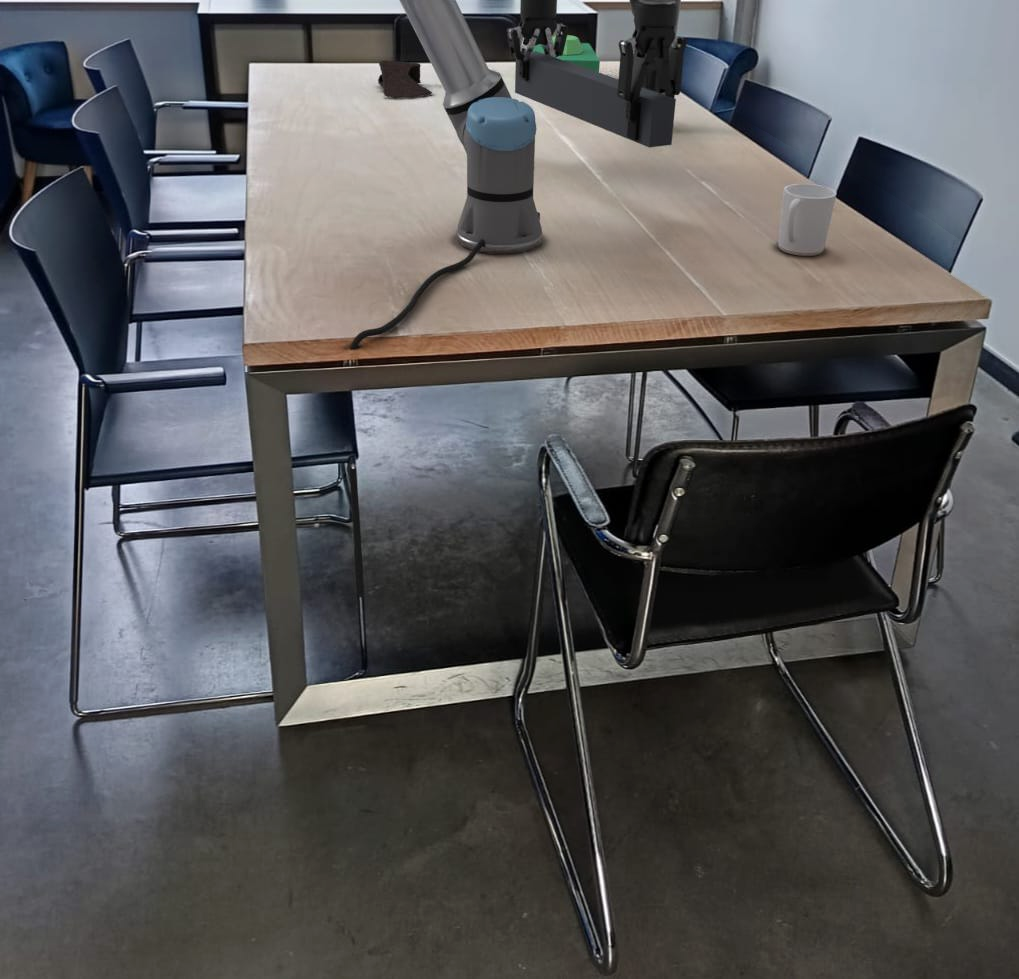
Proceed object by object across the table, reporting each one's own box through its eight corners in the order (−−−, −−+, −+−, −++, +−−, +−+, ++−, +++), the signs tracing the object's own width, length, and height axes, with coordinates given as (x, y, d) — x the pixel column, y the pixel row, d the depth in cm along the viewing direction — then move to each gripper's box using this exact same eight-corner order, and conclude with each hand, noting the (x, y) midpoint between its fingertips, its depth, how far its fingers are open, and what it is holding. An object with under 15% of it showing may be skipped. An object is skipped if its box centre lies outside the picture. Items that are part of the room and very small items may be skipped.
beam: (671, 144, 201) (676, 98, 197) (649, 147, 199) (653, 101, 195) (534, 90, 239) (536, 51, 234) (514, 92, 237) (515, 52, 232)
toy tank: (587, 25, 326) (600, 46, 296) (584, 68, 332) (597, 93, 303) (528, 24, 325) (535, 44, 295) (526, 67, 331) (534, 92, 302)
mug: (789, 236, 200) (798, 180, 195) (834, 247, 195) (845, 190, 190) (760, 251, 193) (769, 193, 188) (807, 263, 188) (817, 204, 183)
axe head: (443, 87, 294) (392, 77, 287) (436, 115, 299) (385, 106, 292) (421, 62, 307) (371, 52, 300) (414, 89, 311) (365, 80, 304)
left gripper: (685, -4, 198) (672, 127, 210) (601, 0, 190) (593, 137, 202) (711, 1, 192) (696, 136, 204) (626, 6, 185) (616, 146, 197)
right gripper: (559, -13, 229) (556, 73, 238) (499, -9, 223) (498, 78, 232) (578, -8, 223) (574, 79, 232) (517, -5, 217) (515, 85, 226)
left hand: (645, 136), depth 203 cm, fingers closed on beam, 5 cm apart
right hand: (536, 78), depth 232 cm, fingers closed on beam, 5 cm apart
